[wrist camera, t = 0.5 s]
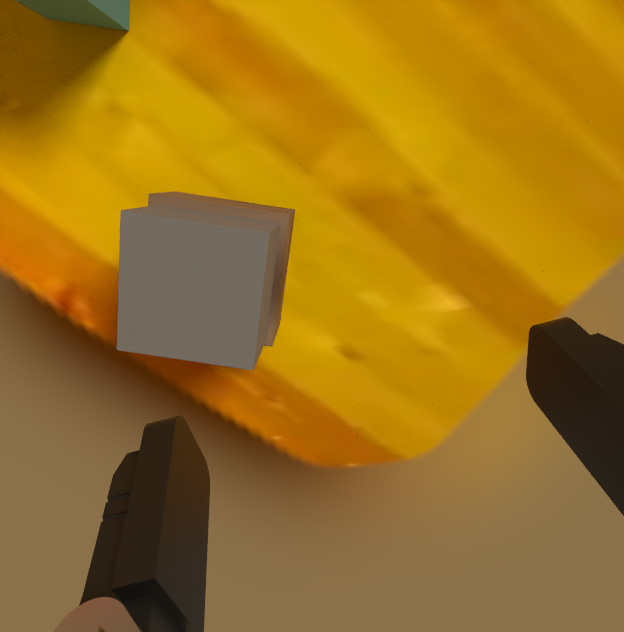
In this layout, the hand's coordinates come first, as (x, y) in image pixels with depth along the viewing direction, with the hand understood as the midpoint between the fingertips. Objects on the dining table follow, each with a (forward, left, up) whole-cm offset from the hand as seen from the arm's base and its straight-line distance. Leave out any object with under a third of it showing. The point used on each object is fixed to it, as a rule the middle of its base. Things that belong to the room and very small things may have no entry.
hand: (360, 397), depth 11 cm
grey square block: (0, -7, -17) cm, 19 cm away
